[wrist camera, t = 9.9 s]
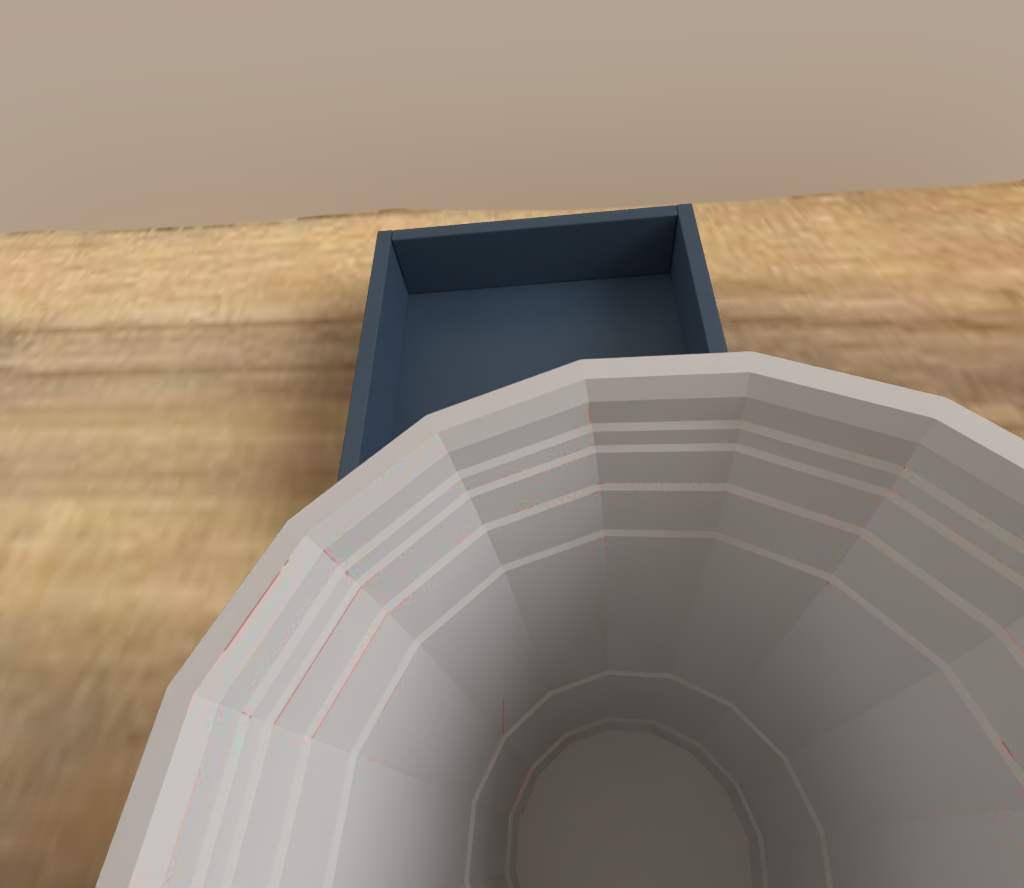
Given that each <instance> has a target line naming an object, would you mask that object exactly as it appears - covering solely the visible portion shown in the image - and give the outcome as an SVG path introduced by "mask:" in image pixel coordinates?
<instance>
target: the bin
mask: <svg viewBox="0 0 1024 888" xmlns="http://www.w3.org/2000/svg"><path fill="white" fill-rule="evenodd" d="M727 352H728V351H727V347H726V342H725V338H724V334H723V330H722V326H721V322H720V318H719V314H718V310H717V306H716V301H715V297H714V293H713V289H712V285H711V281H710V277H709V273H708V269H707V265H706V260H705V256H704V252H703V248H702V244H701V240H700V236H699V232H698V228H697V224H696V219H695V215H694V211H693V207H692V204H680V205H676V206H675V205H672V206H661V207H650V208H639V209H628V210H616V211H605V212H594V213H583V214H572V215H561V216H549V217H538V218H527V219H516V220H505V221H493V222H482V223H471V224H460V225H449V226H438V227H426V228H415V229H404V230H394V231H393V232H392V230H389V231H378V234H377V240H376V247H375V253H374V259H373V265H372V271H371V277H370V284H369V290H368V296H367V302H366V308H365V314H364V321H363V327H362V333H361V339H360V345H359V352H358V358H357V364H356V370H355V376H354V382H353V389H352V395H351V401H350V407H349V413H348V419H347V426H346V432H345V438H344V444H343V450H342V456H341V463H340V469H339V475H338V481H337V483H338V482H339V481H340V480H341V479H343V478H344V477H345V476H347V475H348V474H349V473H351V472H352V471H353V470H355V469H356V468H357V467H359V466H360V465H361V464H363V463H364V462H365V461H367V460H368V459H369V458H370V457H372V456H373V455H374V454H376V453H377V452H378V451H380V450H381V449H382V448H384V447H385V446H386V445H388V444H389V443H390V442H392V441H393V440H394V439H396V438H397V437H398V436H400V435H401V434H402V433H403V432H405V431H406V430H407V429H409V428H410V427H411V426H413V425H414V424H415V423H417V422H418V421H419V420H421V419H422V418H423V417H425V416H426V415H428V414H431V413H434V412H436V411H439V410H442V409H445V408H447V407H450V406H453V405H456V404H459V403H461V402H464V401H467V400H470V399H472V398H475V397H478V396H481V395H484V394H486V393H489V392H492V391H495V390H497V389H500V388H503V387H506V386H509V385H511V384H514V383H517V382H520V381H522V380H525V379H528V378H531V377H533V376H536V375H539V374H542V373H545V372H547V371H550V370H553V369H556V368H558V367H561V366H564V365H567V364H570V363H572V362H575V361H578V360H582V359H603V358H623V357H644V356H665V355H686V354H706V353H727Z"/></svg>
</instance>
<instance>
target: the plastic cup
mask: <svg viewBox="0 0 1024 888" xmlns="http://www.w3.org/2000/svg"><path fill="white" fill-rule="evenodd" d="M95 888H1024V440H1023V439H1021V438H1020V437H1018V436H1016V435H1014V434H1012V433H1010V432H1008V431H1007V430H1005V429H1003V428H1001V427H999V426H997V425H996V424H994V423H992V422H990V421H988V420H986V419H985V418H983V417H981V416H979V415H977V414H975V413H974V412H972V411H970V410H968V409H966V408H964V407H963V406H961V405H959V404H957V403H955V402H953V401H952V400H950V399H948V398H946V397H942V396H937V395H933V394H929V393H925V392H921V391H916V390H912V389H908V388H904V387H900V386H896V385H891V384H887V383H883V382H879V381H875V380H870V379H866V378H862V377H858V376H854V375H849V374H845V373H841V372H837V371H833V370H828V369H824V368H820V367H816V366H812V365H807V364H803V363H799V362H795V361H791V360H786V359H782V358H778V357H774V356H770V355H766V354H761V353H757V352H753V351H748V352H727V353H706V354H686V355H665V356H644V357H623V358H603V359H582V360H578V361H575V362H572V363H570V364H567V365H564V366H561V367H558V368H556V369H553V370H550V371H547V372H545V373H542V374H539V375H536V376H533V377H531V378H528V379H525V380H522V381H520V382H517V383H514V384H511V385H509V386H506V387H503V388H500V389H497V390H495V391H492V392H489V393H486V394H484V395H481V396H478V397H475V398H472V399H470V400H467V401H464V402H461V403H459V404H456V405H453V406H450V407H447V408H445V409H442V410H439V411H436V412H434V413H431V414H428V415H426V416H425V417H423V418H422V419H421V420H419V421H418V422H417V423H415V424H414V425H413V426H411V427H410V428H409V429H407V430H406V431H405V432H403V433H402V434H401V435H400V436H398V437H397V438H396V439H394V440H393V441H392V442H390V443H389V444H388V445H386V446H385V447H384V448H382V449H381V450H380V451H378V452H377V453H376V454H374V455H373V456H372V457H370V458H369V459H368V460H367V461H365V462H364V463H363V464H361V465H360V466H359V467H357V468H356V469H355V470H353V471H352V472H351V473H349V474H348V475H347V476H345V477H344V478H343V479H341V480H340V481H339V482H338V483H336V484H335V485H334V486H332V487H331V488H330V489H328V490H327V491H326V492H324V493H323V494H322V495H320V496H319V497H318V498H316V499H315V500H314V501H312V502H311V503H310V504H309V505H307V506H306V507H305V508H303V509H302V510H301V511H299V512H298V513H297V514H295V515H294V516H293V517H291V518H290V519H289V520H288V521H287V522H286V523H285V525H284V526H283V528H282V529H281V530H280V532H279V533H278V534H277V536H276V537H275V539H274V540H273V541H272V543H271V544H270V546H269V547H268V548H267V550H266V551H265V552H264V554H263V555H262V557H261V558H260V559H259V561H258V562H257V563H256V565H255V566H254V568H253V569H252V570H251V572H250V573H249V575H248V576H247V577H246V579H245V580H244V581H243V583H242V584H241V586H240V587H239V588H238V590H237V591H236V593H235V594H234V595H233V597H232V598H231V599H230V601H229V602H228V604H227V605H226V606H225V608H224V609H223V610H222V612H221V613H220V615H219V616H218V617H217V619H216V620H215V622H214V623H213V624H212V626H211V627H210V628H209V630H208V631H207V633H206V634H205V635H204V637H203V638H202V640H201V641H200V642H199V644H198V645H197V646H196V648H195V649H194V651H193V652H192V653H191V655H190V656H189V657H188V659H187V660H186V662H185V663H184V664H183V666H182V667H181V669H180V670H179V671H178V673H177V674H176V675H175V677H174V678H173V680H172V681H171V682H170V684H169V685H168V686H167V689H166V692H165V695H164V697H163V700H162V703H161V706H160V708H159V711H158V714H157V717H156V720H155V722H154V725H153V728H152V731H151V734H150V736H149V739H148V742H147V745H146V747H145V750H144V753H143V756H142V759H141V761H140V764H139V767H138V770H137V773H136V775H135V778H134V781H133V784H132V786H131V789H130V792H129V795H128V798H127V800H126V803H125V806H124V809H123V811H122V814H121V817H120V820H119V823H118V825H117V828H116V831H115V834H114V837H113V839H112V842H111V845H110V848H109V850H108V853H107V856H106V859H105V862H104V864H103V867H102V870H101V873H100V876H99V878H98V881H97V884H96V887H95Z"/></svg>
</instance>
